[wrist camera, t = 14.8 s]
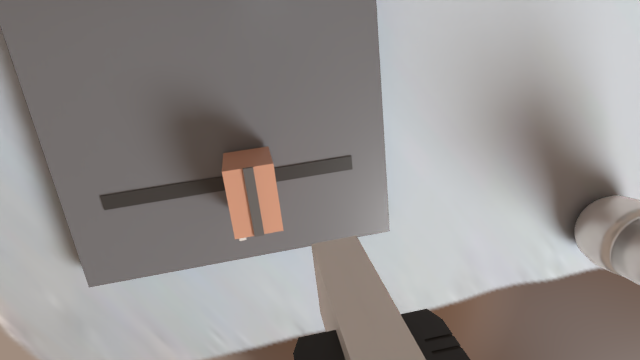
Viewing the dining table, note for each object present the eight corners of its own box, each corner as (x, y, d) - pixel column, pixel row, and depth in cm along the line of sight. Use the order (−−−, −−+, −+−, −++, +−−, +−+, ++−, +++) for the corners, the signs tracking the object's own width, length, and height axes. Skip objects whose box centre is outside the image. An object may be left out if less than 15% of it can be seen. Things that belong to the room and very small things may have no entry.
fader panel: (-40, -144, 24) (-64, -159, 22) (356, -166, 27) (366, -182, 25) (97, 272, 33) (88, 288, 31) (381, 220, 36) (390, 231, 34)
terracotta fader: (223, 153, 29) (221, 172, 25) (268, 146, 30) (273, 164, 26) (234, 213, 31) (235, 240, 27) (277, 206, 31) (283, 231, 27)
